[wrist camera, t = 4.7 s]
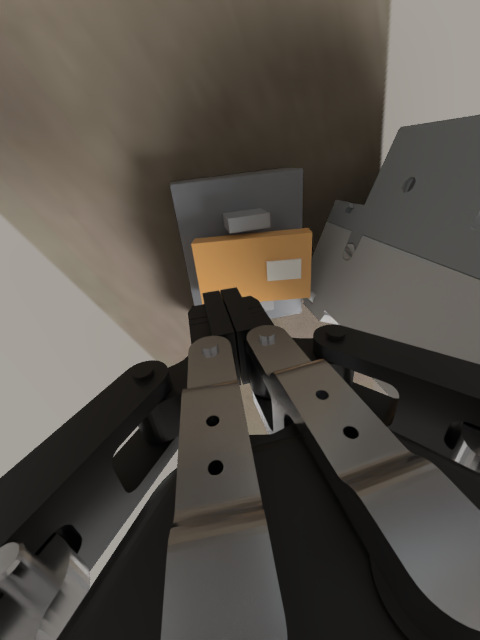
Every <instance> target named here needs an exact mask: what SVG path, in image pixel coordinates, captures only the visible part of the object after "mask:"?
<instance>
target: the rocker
mask: <svg viewBox="0 0 480 640" xmlns="http://www.w3.org/2000/svg"><path fill="white" fill-rule="evenodd" d="M191 246H192V251H193V256H194V262H195V267H196V273H197V278H198V283H199V289H200V294H201V300H202V304H204V300H203V294H202V293H206V292H212V291H218V290H219V292H220V290H223V289H229V288H234V287H237V289H238V290H239V292H240V294H241V296H242V297H246V296H252V297H254V298H256V299H257V300H259V302H262V301H275V300H288V299H301V298H310V292H311V259H312V232H311V230H310V229H309V228H300V229H289V230H279V231H268V232H258V233H246V234H237V235H226V236H216V237H205V238H195V239H194V240H193V242H192V243H191Z"/></svg>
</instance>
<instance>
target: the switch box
mask: <svg viewBox="0 0 480 640" xmlns="http://www.w3.org/2000/svg"><path fill="white" fill-rule="evenodd" d="M170 188H171V193H172V198H173V203H174V208H175V213H176V218H177V223H178V228H179V233H180V238H181V242H182V247H183V252H184V257H185V262H186V267H187V272H188V277H189V282H190V287H191V292H192V297H193V302H194V306H197V305H202V300H201V294H200V289H199V283H198V278H197V273H196V267H195V262H194V256H193V251H192V246H191V243H192V242H193V240H194V239H195V238H205V237H216V236H226V235H237V234H246V233H258V232H268V231H279V230H289V229H300V228H302V215H303V168H280V169H272V170H264V171H255V172H247V173H239V174H231V175H223V176H215V177H206V178H198V179H190V180H182V181H174V182H170ZM260 304H261V305H262V307H263V308H264V310H265V312H266V313H267V315H268V316H269V318H270V319H272V318H278V317H283V316H288V315H293V314H298V313H301V299H288V300H275V301H262V302H260Z"/></svg>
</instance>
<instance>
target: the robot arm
mask: <svg viewBox="0 0 480 640" xmlns="http://www.w3.org/2000/svg"><path fill="white" fill-rule="evenodd" d="M202 294H203V300H204V304H202V305H197V306H192V308H191V309H190V311H189V312H188V318H189V326H190V335H191V344H192V345H191V346H190V348H189V352H188V356H187V357H186V358H185V359H184V360H183V361H181V362H179V363H177V364H175V365H173V366H171V367H169V368H167V366H166V365H165V364H164V363H163V362H160V361H145V362H141V363H138V364H136V365H134V366H132V367H131V368H129V369H128V370H127V371H125V372H124V373H123V374H122V375H121V376H120V377H118V378H117V379H116V380H115V381H114V382H113V383H112V384H110V385H109V386H108V387H107V388H106V389H104V390H103V391H102V392H101V393H100V394H99V395H97V396H96V397H95V398H94V399H93V400H91V401H90V402H89V403H88V404H87V405H86V406H85V407H83V408H82V409H81V410H80V411H79V412H77V413H76V414H75V415H74V416H73V417H72V418H70V419H69V420H68V421H67V422H66V423H64V424H63V425H62V426H61V427H60V428H59V429H57V430H56V431H55V432H54V433H53V434H52V435H51V436H49V437H48V438H47V439H46V440H45V441H44V442H42V443H41V444H40V445H39V446H38V447H36V448H35V449H34V450H33V451H32V452H30V453H29V454H28V455H27V456H26V457H25V458H24V459H22V460H21V461H20V462H19V463H18V464H16V465H15V466H14V467H13V468H12V469H11V470H9V471H8V472H7V473H6V474H5V475H4V476H2V477H1V478H0V640H480V364H477V363H473V362H470V361H466V360H463V359H459V358H456V357H452V356H448V355H445V354H441V353H438V352H434V351H431V350H427V349H424V348H420V347H417V346H413V345H409V344H406V343H402V342H399V341H395V340H392V339H388V338H385V337H381V336H378V335H374V334H370V333H367V332H363V331H360V330H356V329H353V328H349V327H346V326H342V325H325V326H322V327H319V328H318V329H316V330H315V332H314V335H313V338H291V336H290V335H289V334H288V333H287V332H286V331H285V330H284V329H283V328H281V327H278V326H274V324H273V323H272V321H271V320H270V318H269V316H268V315H267V313H266V312H265V310H264V308H263V307H262V305H261V304H260V302H259V300H257V299H256V298H254V297H252V296H246V297H242V296H241V294H240V292H239V290H238V289H237V287H234V288H229V289H223V290H220V292H219V290H218V291H212V292H206V293H202ZM354 371H356V372H358V373H361V374H364V375H367V376H369V377H372V378H375V379H377V380H380V381H383V382H386V383H388V384H390V385H392V386H393V387H394V388H395V389H396V390H397V391H398V393H399V398H392V397H390V396H387V395H384V394H382V393H379V392H377V391H374V390H372V389H369V388H367V387H364V386H362V385H359V384H357V383H354V382H353V376H354ZM240 377H241V380H242V383H243V384H247V383H250V385H251V387H252V396H253V401H254V403H255V405H256V407H257V410H258V412H259V414H260V416H261V418H262V421H263V423H264V425H265V427H266V429H267V432H268V434H269V435H249V432H248V427H247V422H246V417H245V412H244V406H243V401H242V396H241V391H240V386H239V385H241V380H240ZM137 426H138V427H139V429H138V430H137V431H136V432H135V434H134V435H133V436H132V437H131V438H130V439H129V440H128V442H126V444H125V445H124V446H123V447H122V448H121V449H120V450H119V451H118V452H117V454H116V455H115V456H114V453H115V452H116V450H117V448H118V447H119V446H120V445H121V444H122V443H123V442H124V441H125V439H126V438H127V437H128V436H129V435H130V434H131V433H132V431H134V430H135V428H136V427H137ZM177 449H178V464H177V468H176V469H175V470H174V471H173V472H171V473H170V474H169V475H168V476H167V477H166V478H165V479H164V480H163V481H162V482H161V484H160V485H159V486H158V487H157V489H156V490H155V491H154V492H153V494H152V495H151V497H150V498H149V500H148V501H147V503H146V504H145V506H144V508H143V509H142V510H141V512H140V513H139V515H138V517H137V518H136V520H135V521H134V523H133V524H132V526H131V527H130V529H129V530H128V532H127V533H126V535H125V536H124V538H123V539H122V541H121V542H120V544H119V545H118V547H117V548H116V550H115V551H114V553H113V554H112V556H111V558H110V559H109V560H108V562H107V564H106V565H105V566H104V568H103V570H102V571H101V573H100V574H99V576H98V577H97V579H96V580H95V582H94V583H93V585H92V586H91V588H90V589H89V586H90V573H89V572H90V570H91V569H92V568H93V566H94V565H95V563H96V562H97V561H98V559H99V558H100V556H101V555H102V554H103V552H104V551H105V550H106V548H107V547H108V545H109V544H110V542H111V541H112V540H113V538H114V537H115V536H116V534H117V533H118V531H119V530H120V529H121V527H122V526H123V524H124V523H125V522H126V520H127V519H128V517H129V516H130V515H131V513H132V512H133V511H134V509H135V508H136V506H137V505H138V503H139V502H140V501H141V499H142V498H143V497H144V495H145V494H146V492H147V491H148V490H149V488H150V487H151V486H152V484H153V483H154V481H155V480H156V479H157V477H158V475H159V474H160V473H161V472H162V470H163V469H164V467H165V466H166V465H167V463H168V462H169V460H170V459H171V458H172V456H173V455H174V453H175V452H176V451H177ZM113 456H114V457H113Z"/></svg>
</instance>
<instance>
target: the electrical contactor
mask: <svg viewBox="0 0 480 640" xmlns="http://www.w3.org/2000/svg"><path fill="white" fill-rule="evenodd" d="M327 221H328V222H326V224H325V227H324V229H323V232H322V234H321V237H320V239H319V242H318V244H317V247H316V249H315V251H314V254H313V256H312V259H311V292H310V298H301V299H303V300H304V303H303V304H304V305H305V306H306V307H307V308H308V309H309V310H310V311H311V312H312V313H313V315H314V316H315V317H316V318H317V319H318V320H319V321H322V322H327V323H332V324H338V325H342V326H346V327H349V328H353V329H356V330H360V331H363V332H367V333H370V334H374V335H378V336H381V337H385V338H388V339H392V340H395V341H399V342H402V343H406V344H409V345H413V346H417V347H420V348H424V349H427V350H431V351H434V352H438V353H441V354H445V355H448V356H452V357H456V358H459V359H463V360H466V361H470V362H473V363H477V364H480V115H475V116H469V117H462V118H456V119H449V120H443V121H437V122H431V123H424V124H418V125H411V126H405V127H401V128H400V129H399V130H398V133H397V135H396V137H395V139H394V141H393V144H392V146H391V148H390V150H389V152H388V154H387V157H386V159H385V161H384V163H383V165H382V168H381V170H380V172H379V174H378V176H377V179H376V181H375V183H374V185H373V187H372V189H371V192H370V194H369V196H368V198H367V200H366V203H365V205H362V204H353V203H350V202H346V201H341V200H337V199H336V200H335V202H334V205H333V207H332V210H331V212H330V215H329V217H328V220H327ZM311 301H313V303H312V302H311ZM373 379H374V380H375V381H376V382H377V383H378V384H379V385H380V387H381V388H382V389H383V390H384V391H385V392H386V393H387V394H388V395H389V396H390V397H392V398H399V393H398V391H397V390H396V389H395V388H394V387H393V386H392V385H390V384H388V383H386V382H383V381H380V380H377V379H375V378H373Z"/></svg>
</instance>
